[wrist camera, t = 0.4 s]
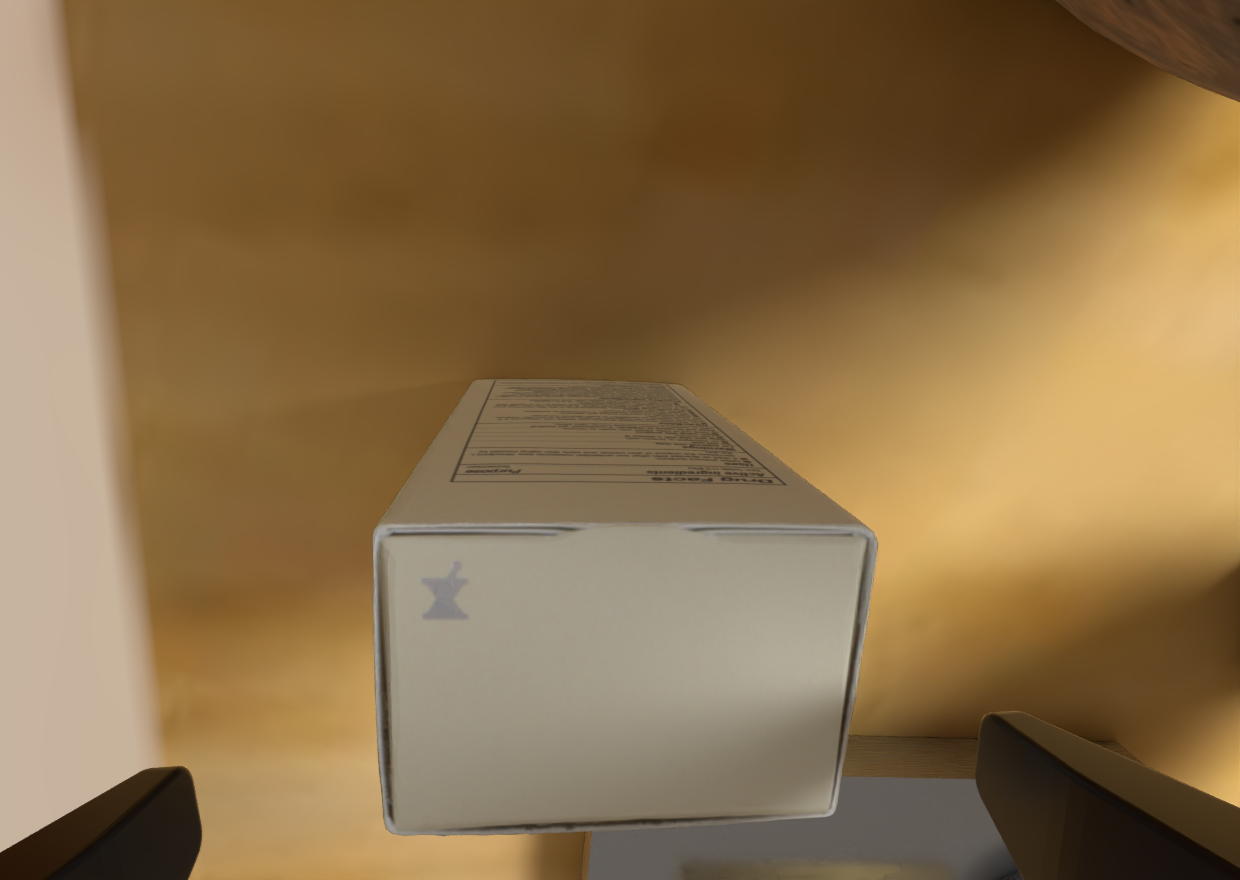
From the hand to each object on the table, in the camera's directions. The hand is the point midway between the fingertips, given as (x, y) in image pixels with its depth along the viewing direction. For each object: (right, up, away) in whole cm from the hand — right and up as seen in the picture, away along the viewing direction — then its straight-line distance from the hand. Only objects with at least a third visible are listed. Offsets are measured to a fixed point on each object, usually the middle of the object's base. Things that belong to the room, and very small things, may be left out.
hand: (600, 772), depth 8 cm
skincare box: (-1, +3, +13) cm, 13 cm away
